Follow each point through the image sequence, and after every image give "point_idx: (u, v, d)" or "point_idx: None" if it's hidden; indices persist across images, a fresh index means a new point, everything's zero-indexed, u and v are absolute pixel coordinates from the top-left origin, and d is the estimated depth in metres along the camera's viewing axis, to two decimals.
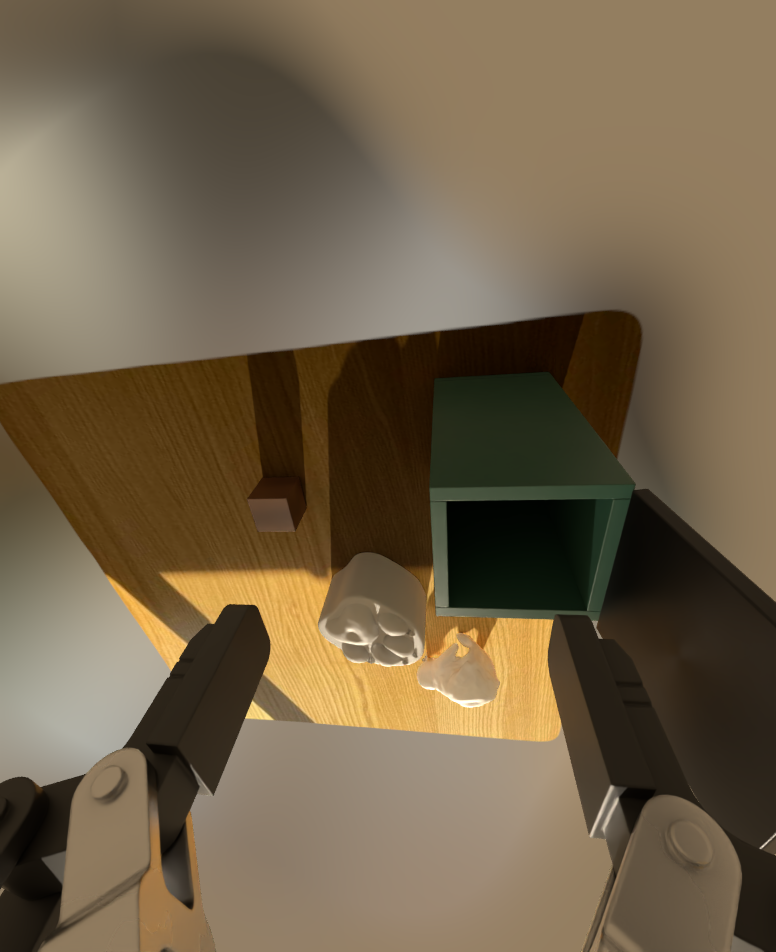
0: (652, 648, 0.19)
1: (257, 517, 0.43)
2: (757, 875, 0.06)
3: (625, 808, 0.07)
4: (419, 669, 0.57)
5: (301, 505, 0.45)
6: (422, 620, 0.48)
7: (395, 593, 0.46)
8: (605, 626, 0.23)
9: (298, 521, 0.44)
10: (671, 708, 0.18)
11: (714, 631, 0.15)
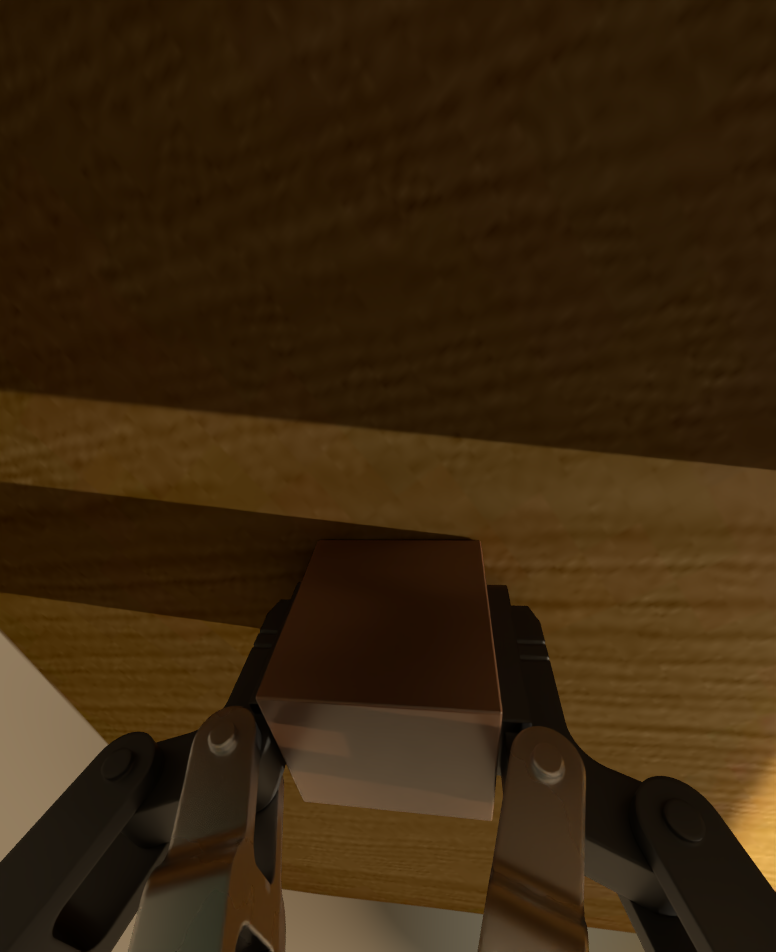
0: None
1: (403, 802, 0.09)
2: (605, 789, 0.07)
3: (508, 740, 0.08)
4: None
5: (431, 574, 0.09)
6: None
7: None
8: None
9: (475, 641, 0.08)
10: None
11: None
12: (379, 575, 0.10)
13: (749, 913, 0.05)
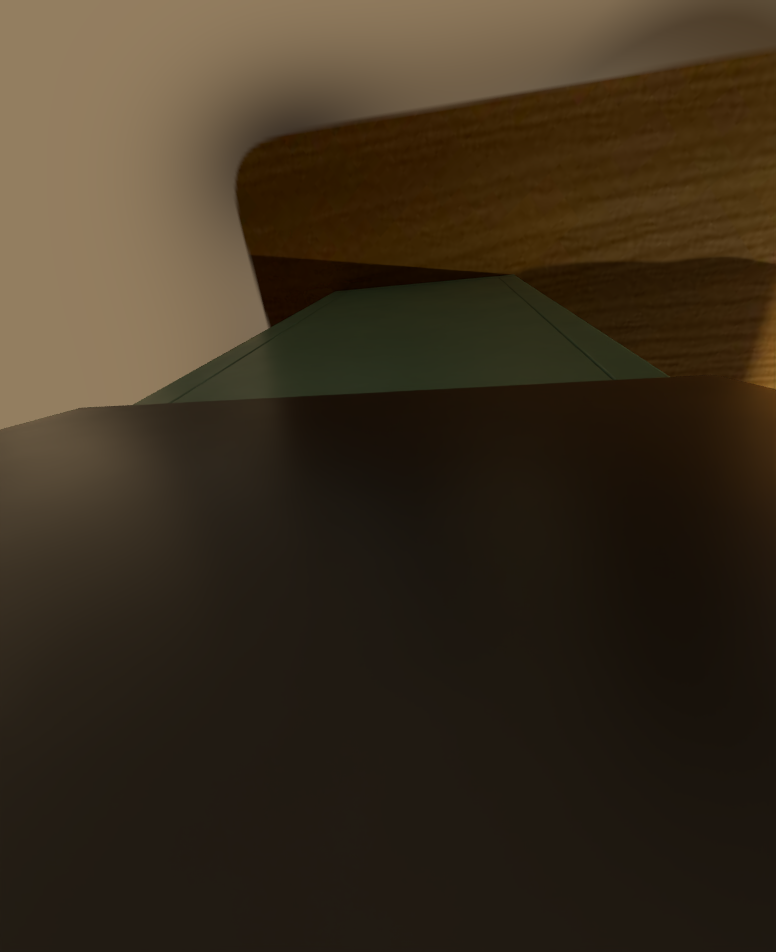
0: None
1: None
2: None
3: None
4: None
5: None
6: None
7: None
8: None
9: None
10: None
11: None
12: None
13: None
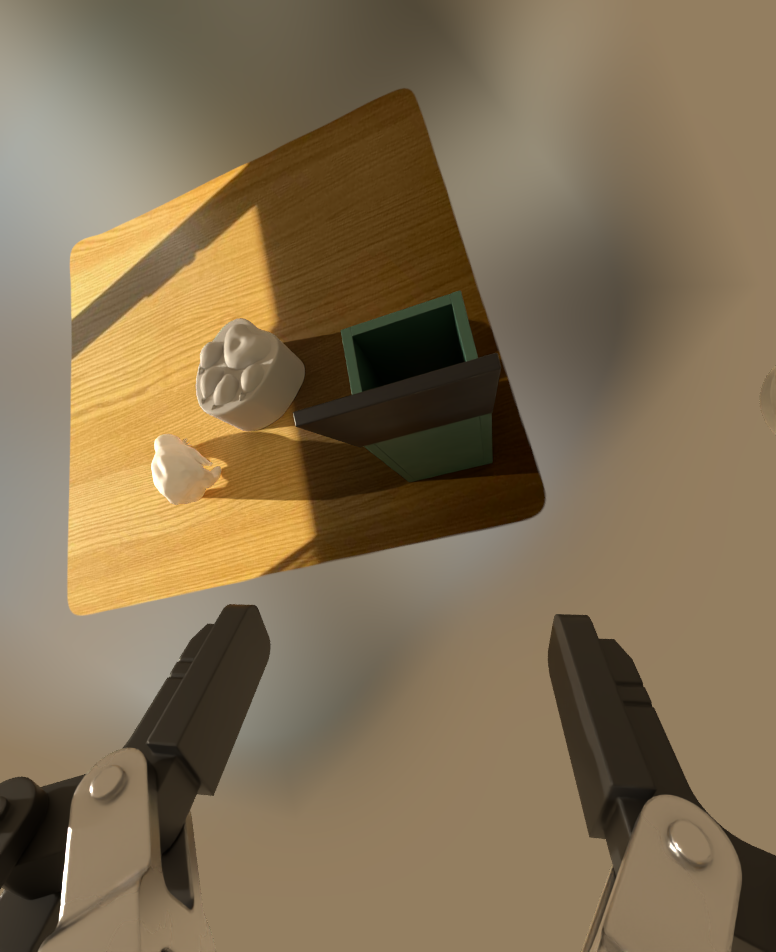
0: None
1: None
2: (757, 875, 0.06)
3: (625, 808, 0.07)
4: None
5: None
6: (248, 414, 0.51)
7: (277, 383, 0.51)
8: None
9: None
10: None
11: None
12: None
13: None
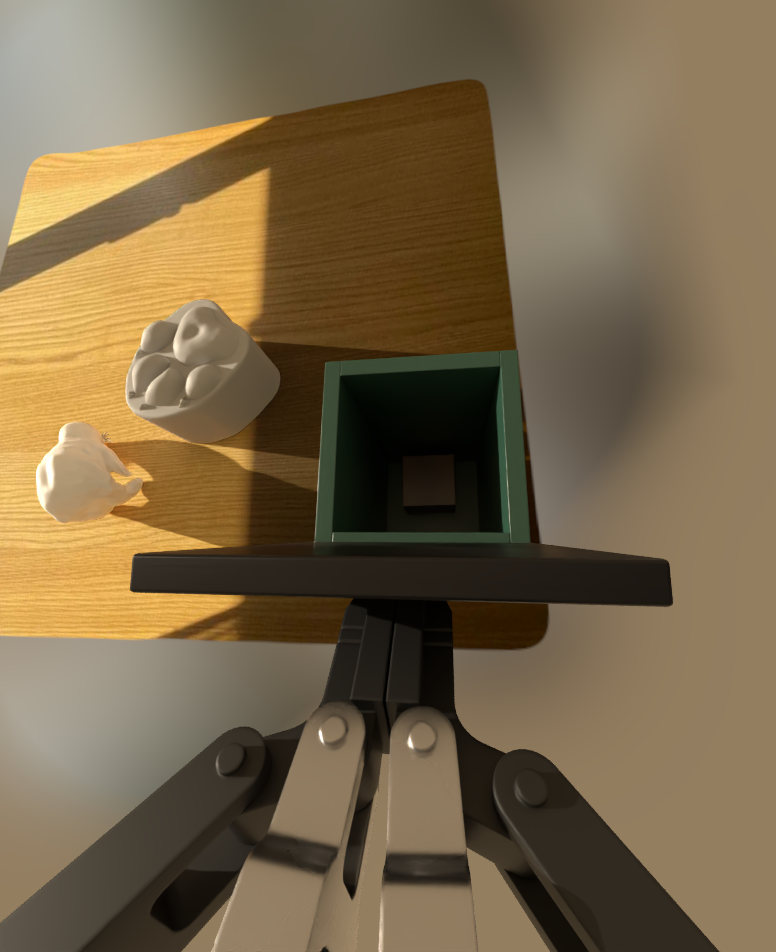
0: (373, 544, 0.14)
1: (425, 461, 0.34)
2: (477, 762, 0.07)
3: None
4: (92, 426, 0.43)
5: (420, 511, 0.36)
6: (190, 425, 0.39)
7: (237, 395, 0.39)
8: None
9: (408, 509, 0.34)
10: (315, 546, 0.13)
11: (496, 547, 0.12)
12: (433, 511, 0.36)
13: (588, 851, 0.06)
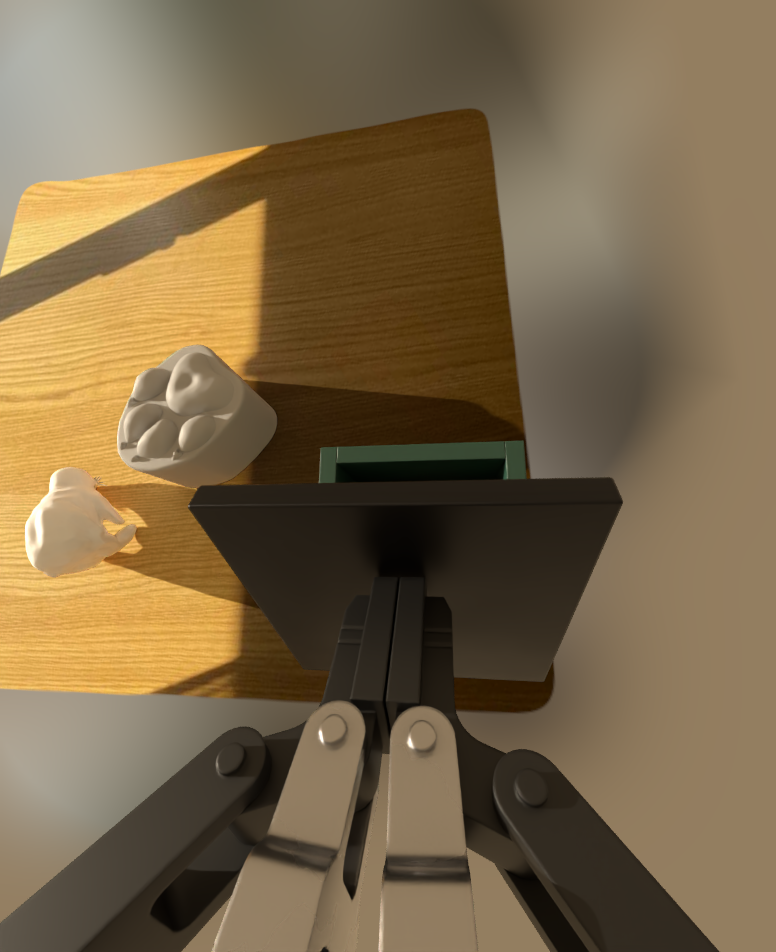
0: None
1: None
2: (477, 763, 0.07)
3: None
4: (84, 471, 0.42)
5: None
6: (184, 474, 0.38)
7: (232, 443, 0.38)
8: None
9: None
10: None
11: None
12: None
13: (589, 851, 0.06)
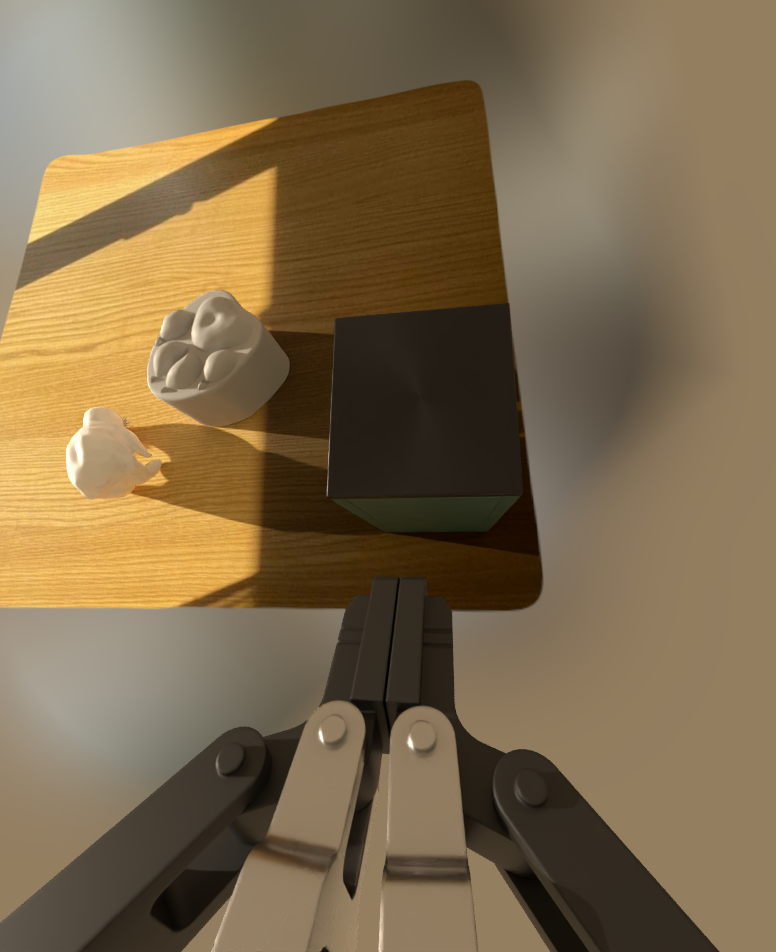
0: None
1: None
2: (477, 762, 0.07)
3: None
4: (113, 411, 0.46)
5: None
6: (207, 407, 0.41)
7: (251, 378, 0.42)
8: None
9: None
10: None
11: None
12: None
13: (589, 851, 0.06)
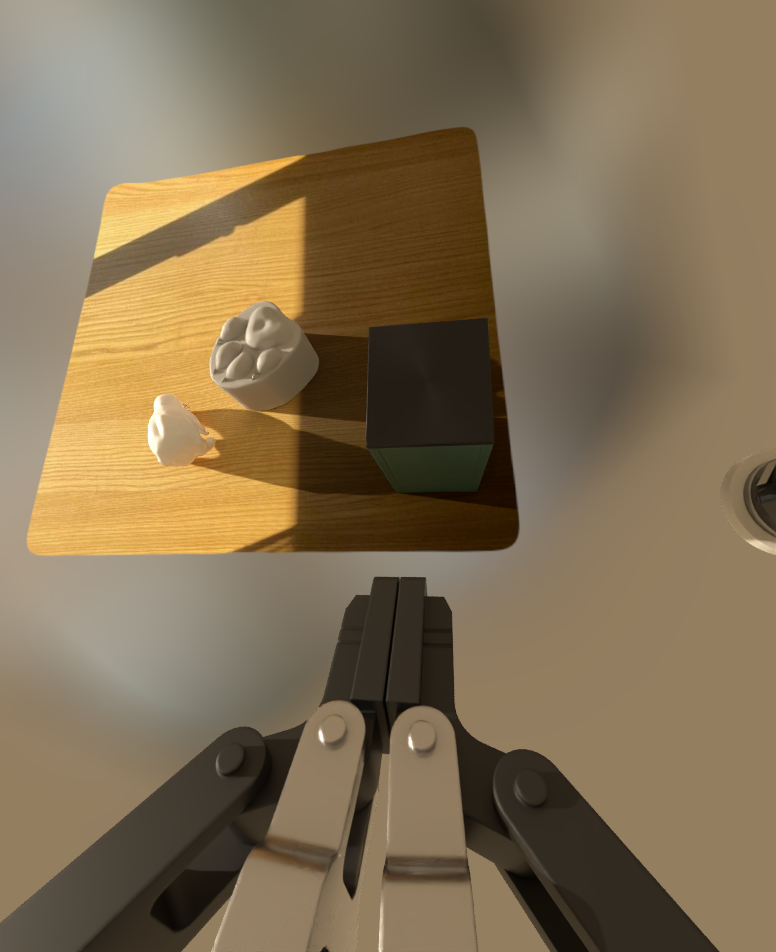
0: None
1: None
2: (477, 763, 0.07)
3: None
4: None
5: None
6: (256, 394, 0.52)
7: (291, 371, 0.53)
8: None
9: None
10: None
11: None
12: None
13: (589, 851, 0.06)
